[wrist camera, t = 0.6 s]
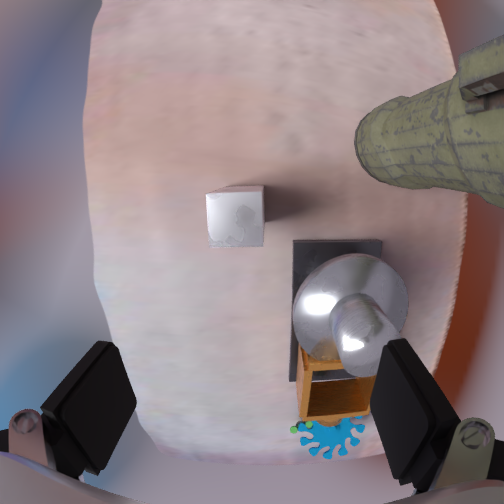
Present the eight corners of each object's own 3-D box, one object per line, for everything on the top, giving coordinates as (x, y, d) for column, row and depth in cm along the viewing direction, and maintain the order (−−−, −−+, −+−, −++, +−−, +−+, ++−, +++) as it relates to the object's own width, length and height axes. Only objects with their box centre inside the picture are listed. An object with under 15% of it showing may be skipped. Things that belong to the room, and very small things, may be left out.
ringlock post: (288, 235, 31) (303, 286, 17) (382, 235, 30) (449, 279, 17) (284, 388, 37) (288, 469, 23) (359, 383, 36) (384, 457, 23)
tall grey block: (225, 186, 30) (206, 193, 20) (263, 185, 30) (261, 191, 20) (227, 223, 31) (209, 247, 21) (264, 222, 31) (263, 246, 21)
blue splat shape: (369, 397, 35) (360, 459, 30) (360, 397, 40) (352, 453, 35) (295, 394, 37) (285, 457, 32) (294, 394, 42) (286, 450, 37)
